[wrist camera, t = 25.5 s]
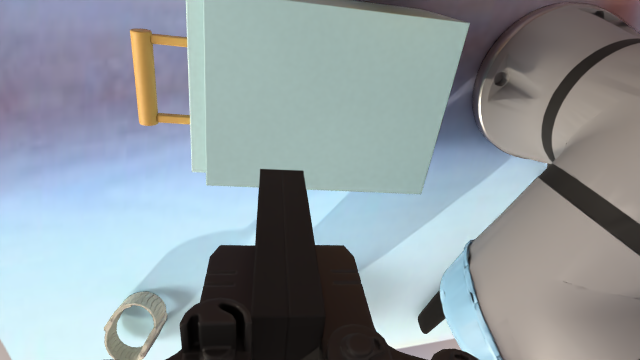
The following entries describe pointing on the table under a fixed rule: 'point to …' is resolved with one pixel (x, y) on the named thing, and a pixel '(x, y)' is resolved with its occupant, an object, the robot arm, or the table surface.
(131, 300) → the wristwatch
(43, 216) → the table surface
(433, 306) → the electric trimmer
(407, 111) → the cabinet
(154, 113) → the drawer
